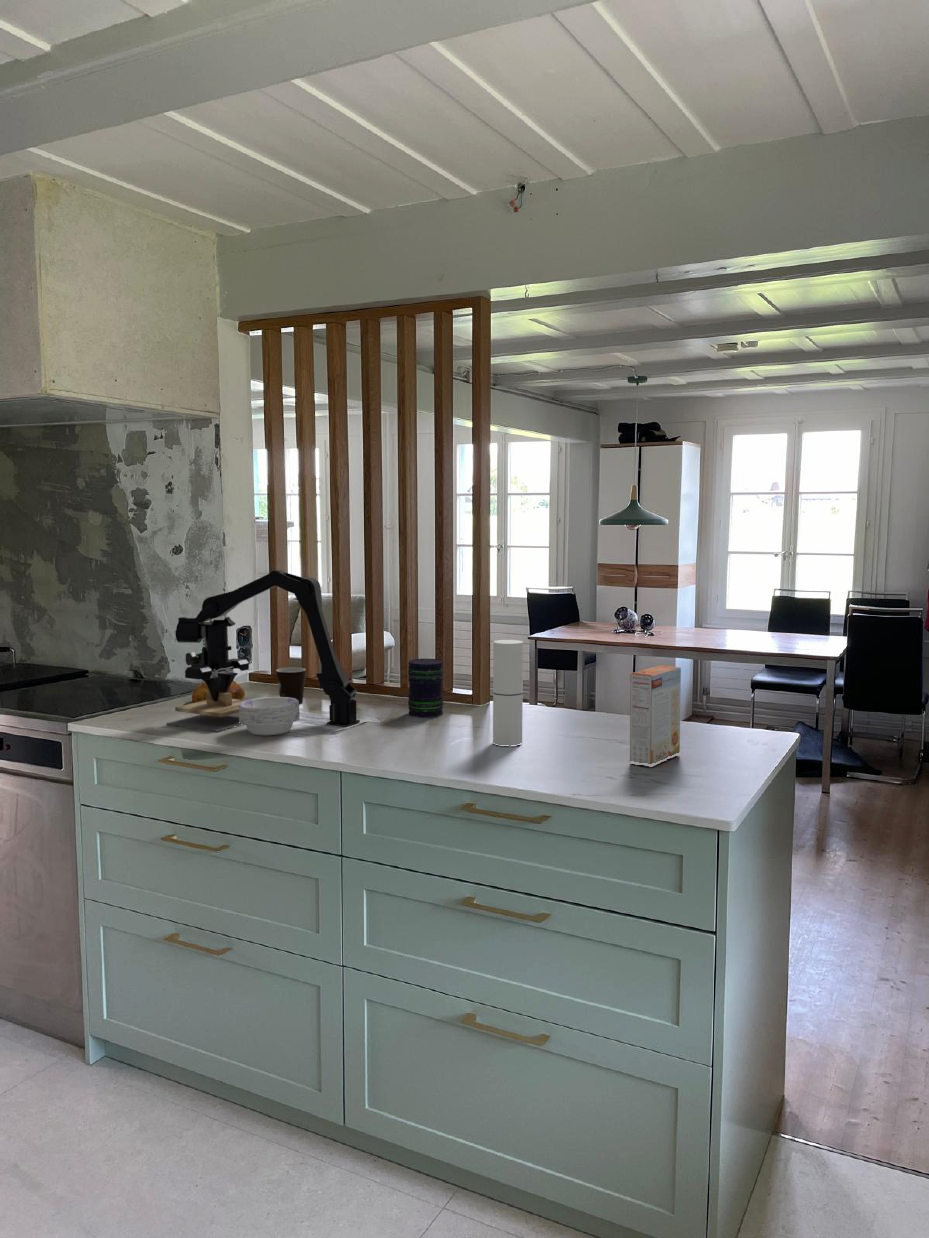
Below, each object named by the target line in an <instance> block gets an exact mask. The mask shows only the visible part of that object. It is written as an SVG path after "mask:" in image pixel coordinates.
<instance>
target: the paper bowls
mask: <svg viewBox="0 0 929 1238" xmlns="http://www.w3.org/2000/svg"><path fill="white" fill-rule="evenodd" d="M300 713H301V711H300V705H299V701H298V700H297V699H295V698H289V697H280V696H267V697H259V698H258V697H257V698H251V699H247V700H246V701H243V702H241V703H240V704H239V721H240V723H241V724H243V725H242V726H246V729H247V730H248V732H249V733H251V734H252V735H256V736H278V735H282V734H287V732H289V731H290V730H291V729H292V727H293V724H294V723H295V722H298V721H299V720H300V717H301V715H300Z"/></svg>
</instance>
